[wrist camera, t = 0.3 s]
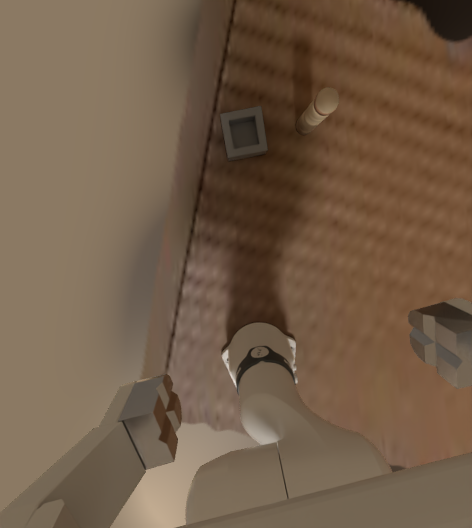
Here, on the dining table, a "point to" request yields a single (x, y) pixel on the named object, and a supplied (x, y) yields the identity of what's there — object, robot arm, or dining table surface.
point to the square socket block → (244, 133)
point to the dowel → (317, 110)
